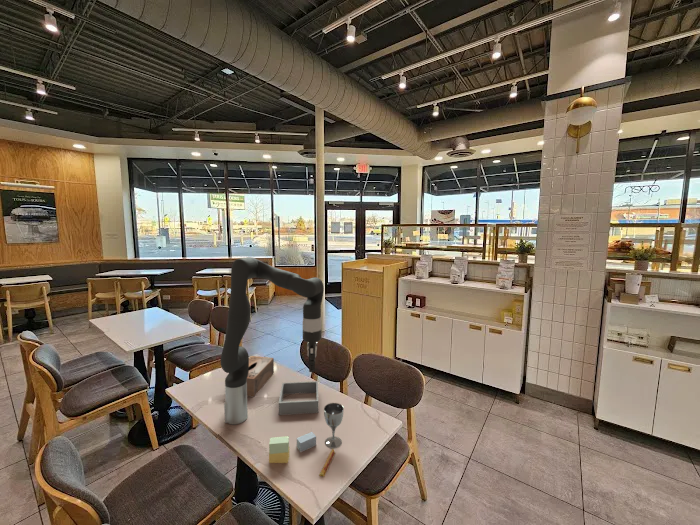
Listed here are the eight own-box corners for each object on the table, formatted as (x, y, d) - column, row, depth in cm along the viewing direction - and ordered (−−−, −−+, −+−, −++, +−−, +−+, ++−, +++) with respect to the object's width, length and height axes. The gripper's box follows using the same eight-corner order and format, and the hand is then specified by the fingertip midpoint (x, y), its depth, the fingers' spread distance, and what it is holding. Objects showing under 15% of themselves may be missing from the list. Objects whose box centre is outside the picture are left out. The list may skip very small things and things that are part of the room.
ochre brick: (269, 463, 113) (268, 453, 113) (271, 456, 117) (271, 446, 116) (287, 463, 113) (287, 453, 113) (289, 456, 117) (289, 446, 116)
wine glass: (323, 436, 128) (324, 403, 126) (342, 435, 129) (343, 402, 127) (323, 449, 120) (324, 414, 119) (343, 448, 121) (344, 414, 119)
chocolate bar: (318, 476, 108) (318, 470, 108) (329, 452, 120) (329, 447, 119) (324, 478, 107) (324, 472, 107) (335, 454, 119) (336, 449, 119)
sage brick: (269, 454, 112) (269, 444, 112) (270, 447, 116) (270, 437, 115) (288, 452, 113) (288, 442, 113) (288, 445, 117) (288, 436, 116)
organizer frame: (278, 415, 142) (278, 403, 141) (282, 393, 160) (282, 382, 160) (318, 412, 144) (318, 400, 144) (317, 391, 163) (317, 381, 162)
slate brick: (300, 452, 119) (300, 443, 118) (296, 447, 122) (296, 438, 121) (316, 445, 123) (316, 436, 122) (312, 440, 126) (312, 431, 125)
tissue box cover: (254, 397, 157) (253, 378, 156) (228, 394, 159) (227, 376, 158) (273, 373, 182) (273, 357, 181) (251, 371, 184) (250, 355, 183)
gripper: (303, 322, 127) (303, 359, 129) (301, 334, 113) (301, 375, 115) (321, 322, 128) (321, 358, 129) (321, 333, 114) (321, 374, 115)
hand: (312, 366), depth 122 cm, fingers open, 8 cm apart
